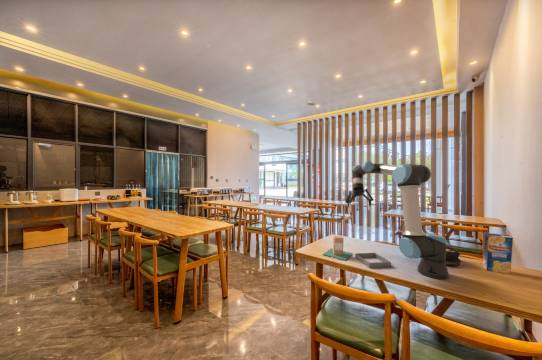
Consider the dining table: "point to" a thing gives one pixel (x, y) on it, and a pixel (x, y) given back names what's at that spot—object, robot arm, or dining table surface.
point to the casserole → (452, 256)
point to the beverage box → (497, 253)
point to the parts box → (338, 245)
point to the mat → (341, 257)
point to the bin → (372, 265)
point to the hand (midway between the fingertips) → (359, 211)
